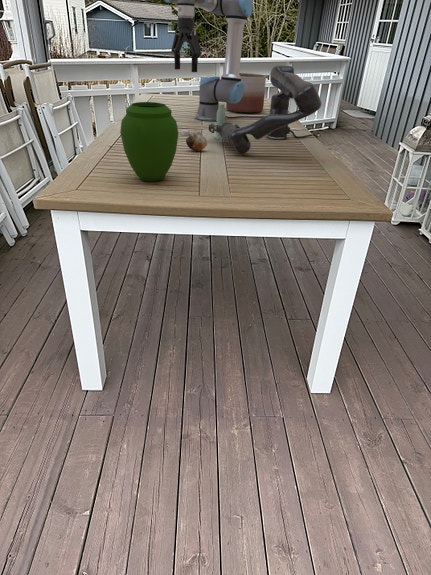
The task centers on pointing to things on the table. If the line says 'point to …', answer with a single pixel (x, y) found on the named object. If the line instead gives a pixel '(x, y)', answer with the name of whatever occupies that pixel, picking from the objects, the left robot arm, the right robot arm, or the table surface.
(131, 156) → the vase
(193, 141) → the seashell
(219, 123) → the bottle
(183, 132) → the cap
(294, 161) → the table surface
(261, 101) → the planter
